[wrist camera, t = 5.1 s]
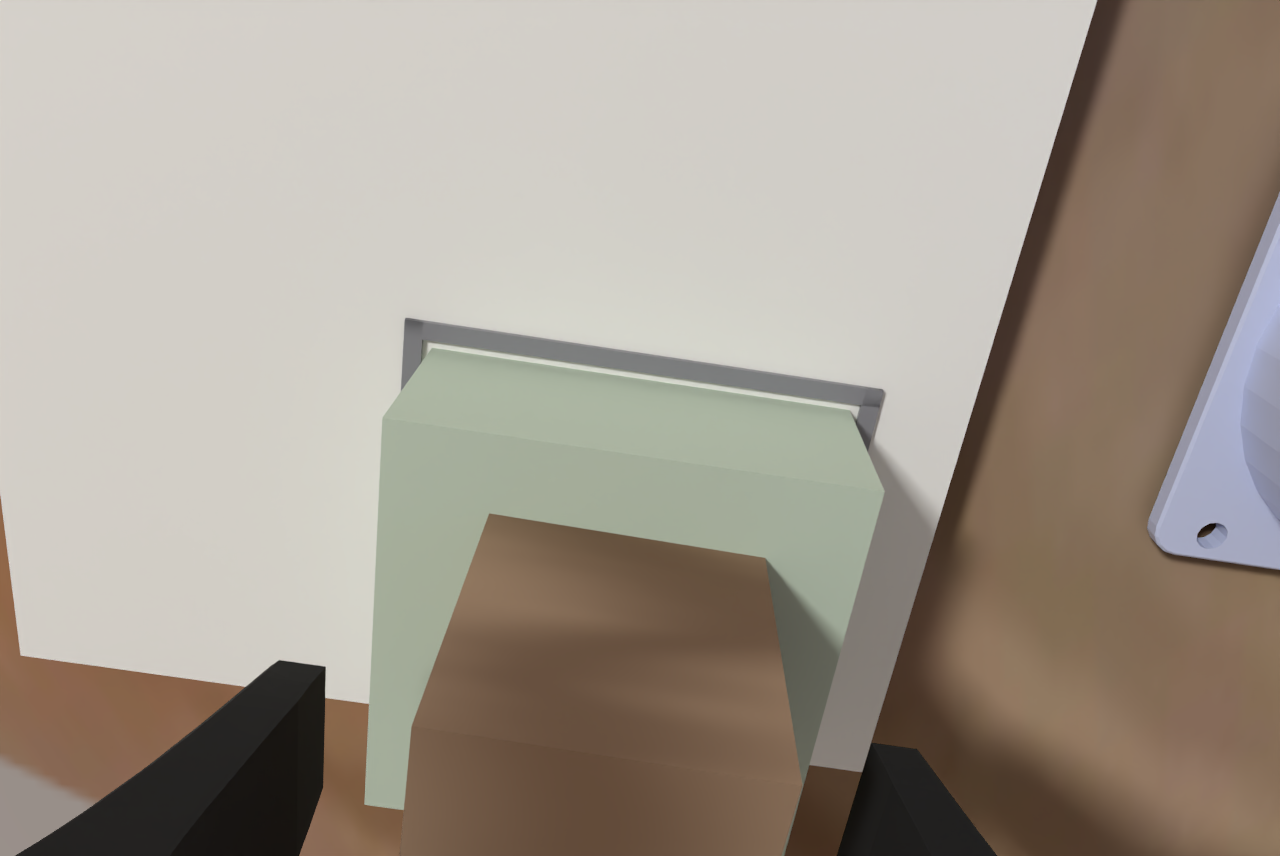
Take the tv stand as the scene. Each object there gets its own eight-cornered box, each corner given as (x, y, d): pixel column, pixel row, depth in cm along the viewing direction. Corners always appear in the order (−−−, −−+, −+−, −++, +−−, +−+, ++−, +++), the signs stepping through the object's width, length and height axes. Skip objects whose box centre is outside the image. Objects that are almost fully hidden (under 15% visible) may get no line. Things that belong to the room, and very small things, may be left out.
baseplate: (1136, -224, 14) (1173, -241, 13) (853, 737, 20) (862, 776, 19) (-65, -426, 13) (-126, -462, 12) (51, 625, 20) (17, 658, 19)
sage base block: (849, 410, 16) (884, 491, 14) (767, 738, 19) (782, 861, 16) (432, 347, 16) (382, 417, 13) (409, 688, 19) (364, 804, 16)
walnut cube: (765, 557, 14) (802, 785, 10) (711, 771, 16) (724, 1044, 12) (489, 513, 14) (411, 726, 10) (463, 733, 16) (386, 996, 11)
